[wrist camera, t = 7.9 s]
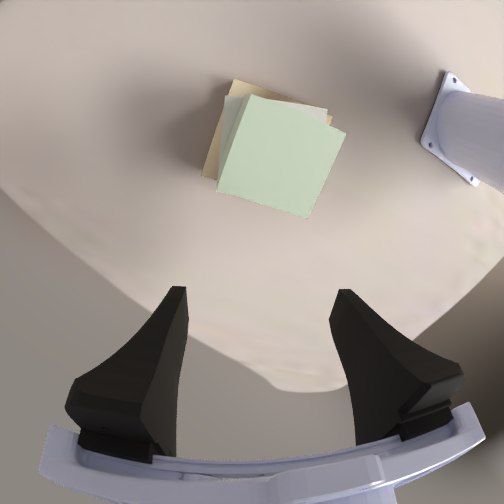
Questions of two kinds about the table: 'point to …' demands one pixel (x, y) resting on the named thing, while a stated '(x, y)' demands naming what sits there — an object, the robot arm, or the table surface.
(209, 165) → the bottom slab
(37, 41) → the table surface
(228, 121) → the top slab
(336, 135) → the cube
